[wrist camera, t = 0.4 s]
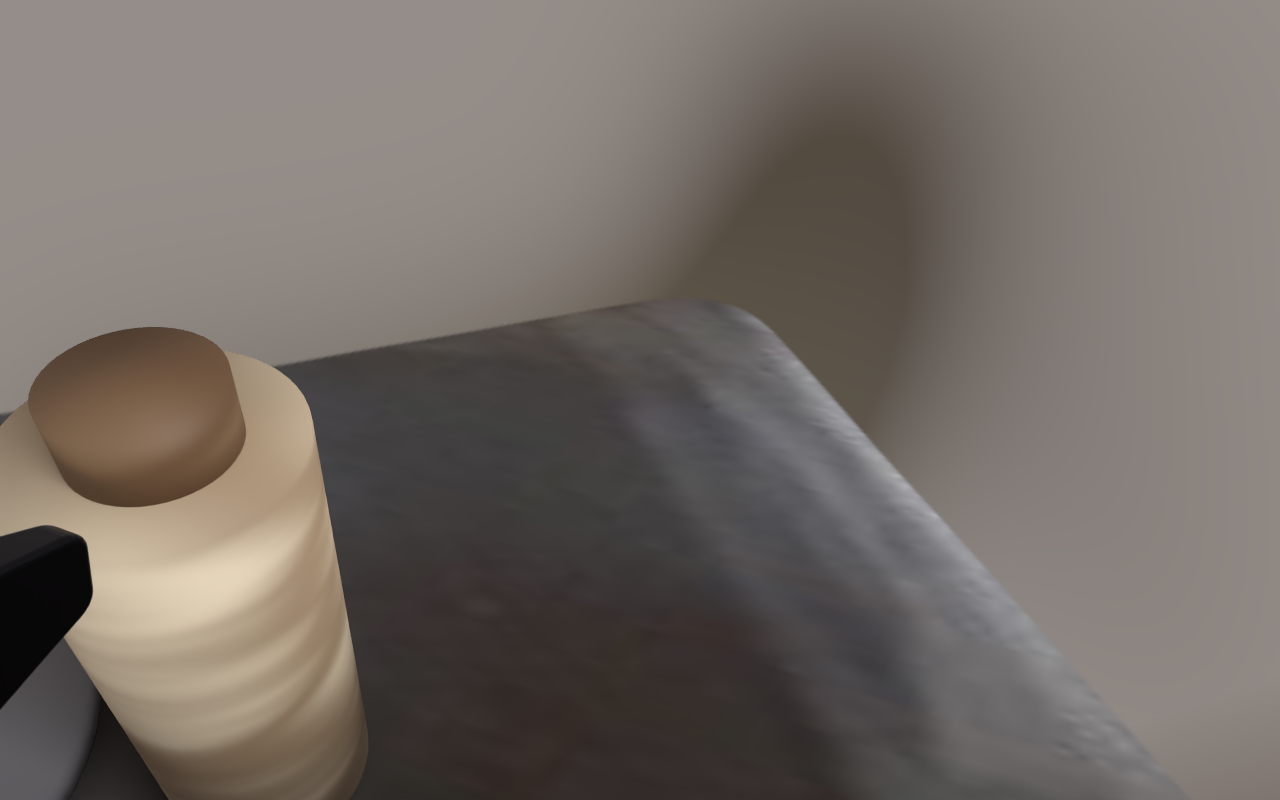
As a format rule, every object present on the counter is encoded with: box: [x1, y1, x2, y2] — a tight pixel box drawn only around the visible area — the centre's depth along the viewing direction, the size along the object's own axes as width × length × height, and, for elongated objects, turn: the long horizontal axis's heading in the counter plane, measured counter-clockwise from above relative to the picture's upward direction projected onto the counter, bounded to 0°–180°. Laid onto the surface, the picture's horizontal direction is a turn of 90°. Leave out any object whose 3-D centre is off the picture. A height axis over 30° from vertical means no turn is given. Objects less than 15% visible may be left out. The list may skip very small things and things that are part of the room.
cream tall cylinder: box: [0, 327, 369, 800], centre depth 18 cm, size 5×5×14 cm
